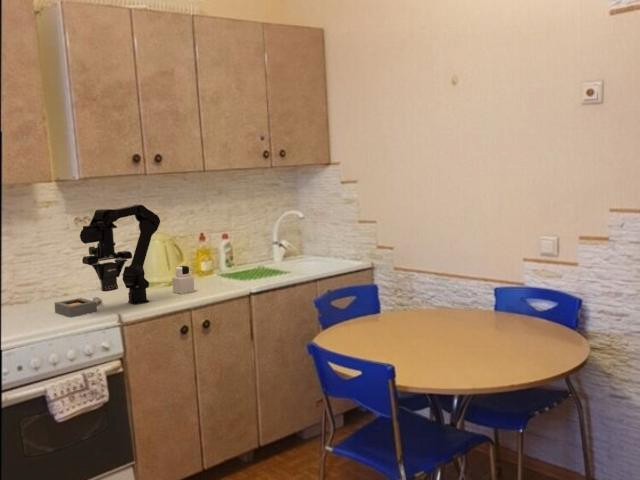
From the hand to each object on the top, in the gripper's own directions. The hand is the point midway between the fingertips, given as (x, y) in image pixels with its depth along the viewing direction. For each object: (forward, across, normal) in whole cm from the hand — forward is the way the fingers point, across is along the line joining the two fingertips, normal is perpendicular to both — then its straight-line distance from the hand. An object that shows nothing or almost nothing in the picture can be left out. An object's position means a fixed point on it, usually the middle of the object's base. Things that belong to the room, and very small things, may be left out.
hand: (109, 278), depth 247 cm
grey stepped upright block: (+13, -38, -6) cm, 41 cm away
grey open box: (+13, +11, -9) cm, 19 cm away
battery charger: (+5, 0, 0) cm, 5 cm away
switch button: (+12, +11, -9) cm, 19 cm away
